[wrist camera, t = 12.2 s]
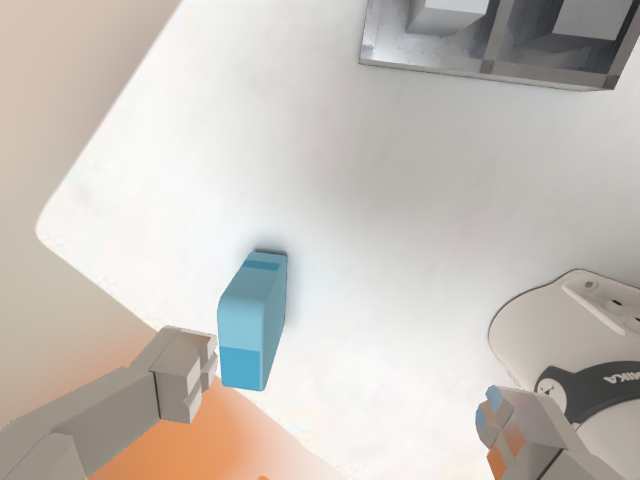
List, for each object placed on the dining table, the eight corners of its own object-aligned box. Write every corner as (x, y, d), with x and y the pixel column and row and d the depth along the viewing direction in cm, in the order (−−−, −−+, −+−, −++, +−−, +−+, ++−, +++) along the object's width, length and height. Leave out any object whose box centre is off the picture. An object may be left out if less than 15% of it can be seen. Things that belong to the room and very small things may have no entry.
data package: (253, 246, 39) (215, 303, 28) (288, 251, 38) (263, 309, 28) (253, 320, 44) (221, 392, 33) (284, 324, 44) (262, 398, 33)
